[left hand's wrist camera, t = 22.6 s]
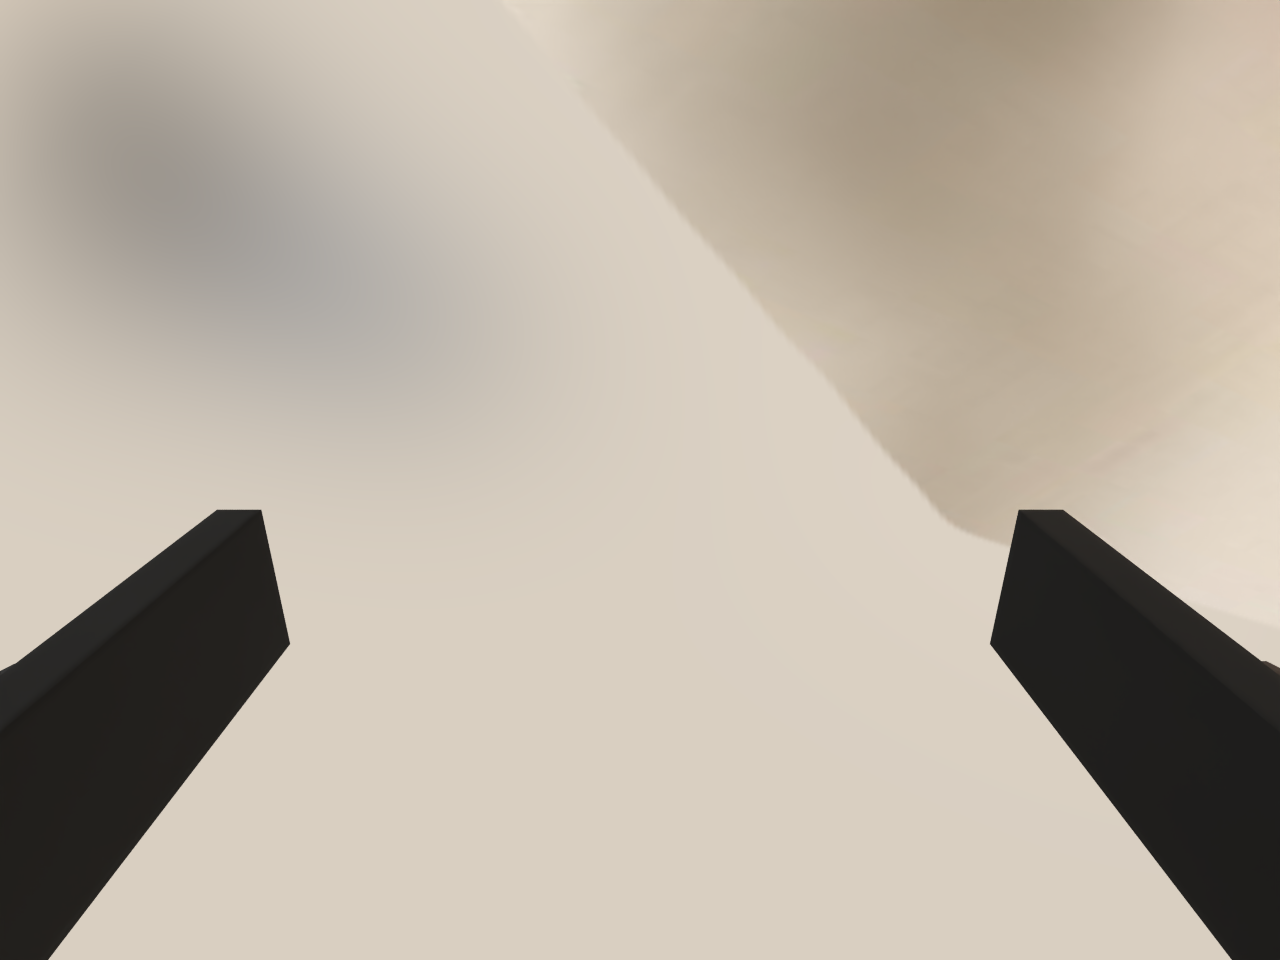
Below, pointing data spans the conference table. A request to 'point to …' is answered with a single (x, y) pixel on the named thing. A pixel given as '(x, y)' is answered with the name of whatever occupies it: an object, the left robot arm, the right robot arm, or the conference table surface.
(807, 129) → the conference table surface
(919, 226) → the conference table surface
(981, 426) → the conference table surface
